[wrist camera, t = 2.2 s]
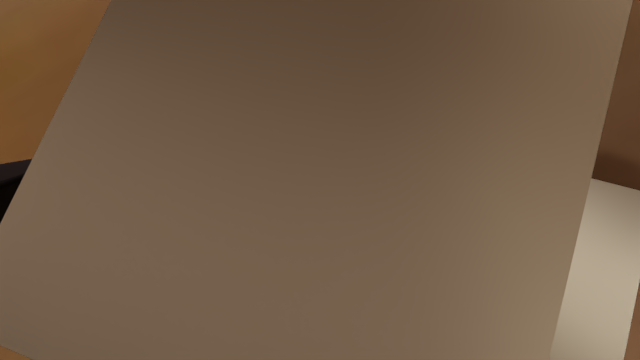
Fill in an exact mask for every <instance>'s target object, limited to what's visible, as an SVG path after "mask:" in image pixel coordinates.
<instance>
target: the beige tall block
mask: <svg viewBox="0 0 640 360" xmlns="http://www.w3.org/2000/svg"><path fill="white" fill-rule="evenodd" d="M632 2H633V0H111V2H110V4H109V6H108V8H107V10H106V12H105V14H104V16H103V18H102V20H101V22H100V24H99V26H98V28H97V30H96V32H95V34H94V36H93V38H92V40H91V42H90V44H89V46H88V48H87V50H86V52H85V54H84V56H83V58H82V60H81V62H80V64H79V66H78V68H77V70H76V72H75V74H74V76H73V78H72V80H71V82H70V84H69V86H68V88H67V90H66V92H65V94H64V96H63V99H62V101H61V103H60V105H59V107H58V109H57V111H56V113H55V115H54V117H53V119H52V121H51V123H50V125H49V127H48V129H47V131H46V133H45V135H44V137H43V139H42V141H41V143H40V145H39V147H38V149H37V151H36V153H35V155H34V157H33V159H32V161H31V163H30V165H29V167H28V169H27V171H26V173H25V175H24V177H23V179H22V181H21V183H20V185H19V187H18V189H17V191H16V193H15V195H14V197H13V199H12V201H11V203H10V205H9V207H8V209H7V211H6V213H5V215H4V217H3V219H2V221H1V223H0V346H2V347H5V348H7V349H9V350H12V351H14V352H16V353H19V354H21V355H23V356H26V357H28V358H30V359H33V360H549V357H550V352H551V348H552V344H553V340H554V335H555V331H556V327H557V322H558V318H559V314H560V310H561V305H562V301H563V297H564V293H565V288H566V284H567V280H568V275H569V271H570V267H571V263H572V258H573V254H574V250H575V246H576V241H577V237H578V233H579V228H580V224H581V220H582V216H583V211H584V207H585V203H586V199H587V194H588V190H589V186H590V181H591V177H592V173H593V169H594V164H595V160H596V156H597V152H598V147H599V143H600V139H601V134H602V130H603V126H604V122H605V117H606V113H607V109H608V105H609V100H610V96H611V92H612V87H613V83H614V79H615V75H616V70H617V66H618V62H619V58H620V53H621V49H622V45H623V40H624V36H625V32H626V28H627V23H628V19H629V15H630V10H631V6H632Z"/></svg>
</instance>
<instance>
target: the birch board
mask: <svg viewBox="0 0 640 360" xmlns="http://www.w3.org/2000/svg"><path fill="white" fill-rule="evenodd" d="M639 281H640V191H639V190H635V189H631V188H627V187H624V186H620V185H616V184H612V183H608V182H604V181H600V180H596V179H592V178H591V181H590V186H589V190H588V194H587V199H586V203H585V207H584V211H583V216H582V220H581V224H580V228H579V233H578V237H577V241H576V246H575V250H574V254H573V258H572V263H571V267H570V271H569V275H568V280H567V284H566V288H565V293H564V297H563V301H562V305H561V310H560V314H559V318H558V322H557V327H556V331H555V335H554V340H553V344H552V348H551V352H550V357H549V360H624V355H625V350H626V345H627V340H628V335H629V330H630V325H631V320H632V315H633V310H634V305H635V300H636V295H637V291H638V286H639Z"/></svg>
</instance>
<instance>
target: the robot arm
mask: <svg viewBox="0 0 640 360" xmlns="http://www.w3.org/2000/svg"><path fill="white" fill-rule="evenodd" d="M31 161H32V159H29V160H23V161H17V162H11V163H5V164H0V223H1V221H2V219H3V217H4V215H5V213H6V211H7V209H8V207H9V205H10V203H11V201H12V199H13V197H14V195H15V193H16V191H17V189H18V187H19V185H20V183H21V181H22V179H23V177H24V175H25V173H26V171H27V169H28V167H29V165H30V163H31Z"/></svg>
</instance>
